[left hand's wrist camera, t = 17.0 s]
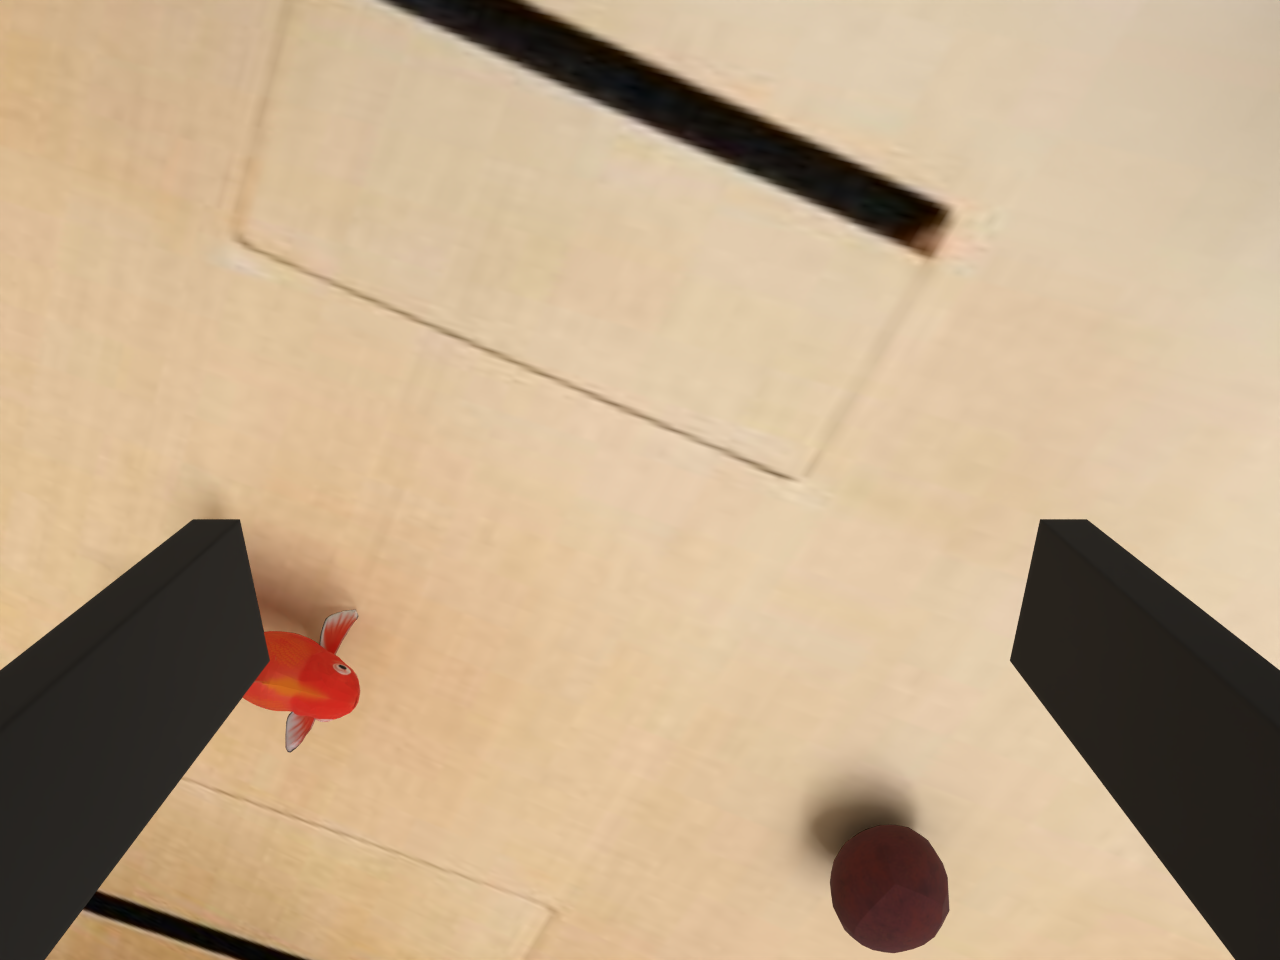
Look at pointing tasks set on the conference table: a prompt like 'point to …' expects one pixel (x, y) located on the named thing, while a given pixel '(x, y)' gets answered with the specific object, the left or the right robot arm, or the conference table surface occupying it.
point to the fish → (307, 678)
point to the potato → (889, 889)
